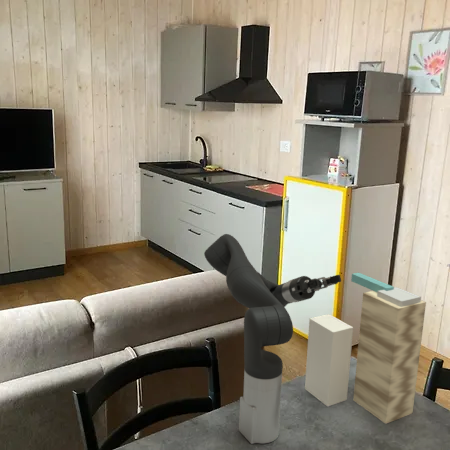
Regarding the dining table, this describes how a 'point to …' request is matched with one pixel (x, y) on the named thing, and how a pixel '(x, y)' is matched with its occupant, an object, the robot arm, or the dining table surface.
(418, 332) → the tall wooden block
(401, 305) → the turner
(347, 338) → the white block
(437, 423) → the dining table surface
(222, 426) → the dining table surface
